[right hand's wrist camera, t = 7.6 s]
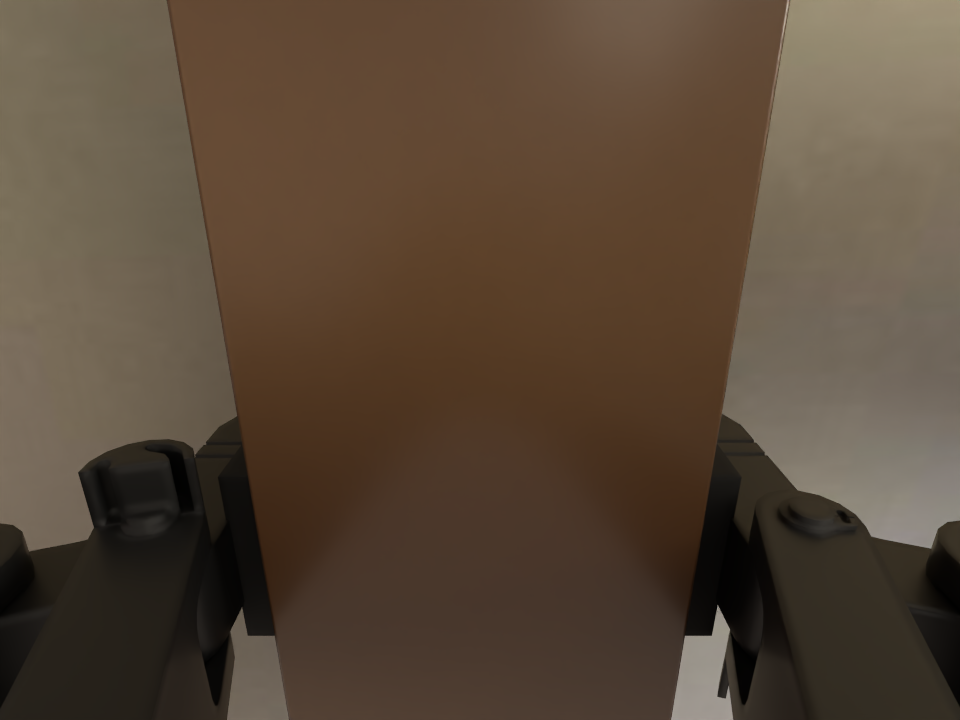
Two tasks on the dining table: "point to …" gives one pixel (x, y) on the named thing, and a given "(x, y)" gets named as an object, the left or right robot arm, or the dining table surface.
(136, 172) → the dining table surface
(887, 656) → the right robot arm
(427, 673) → the bar
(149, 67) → the dining table surface
